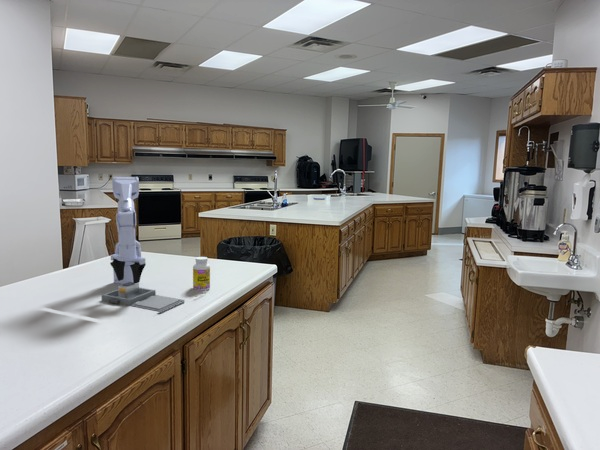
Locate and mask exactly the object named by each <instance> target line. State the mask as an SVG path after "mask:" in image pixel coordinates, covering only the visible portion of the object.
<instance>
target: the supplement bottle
mask: <svg viewBox="0 0 600 450" xmlns="http://www.w3.org/2000/svg"><path fill="white" fill-rule="evenodd" d="M208 261H209V259H208V257H207V256H197V257H195V263H194V264H193V267H192V289H193V290H198V291H209V290H210V289H211V265H210V263H208Z"/></svg>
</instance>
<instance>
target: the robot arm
mask: <svg viewBox="0 0 600 450" xmlns="http://www.w3.org/2000/svg"><path fill="white" fill-rule="evenodd" d="M111 180H112V181H111V182H112V183H111V185H112V193H113V194H112V195H113V196H114V198H115V199H117V200H118V202H117V213H116V214H115V219H116V221H115V223H116V228H117V233H118V235H117V237H118V238H117V239H118V240H117V241H118V242H116V244H115V247H114V248H115V249H114V254H110V261H111V262H110V266H111V267H112V269H113V270H112V271H113V283H114V284H115V283H117V284H119V285H122V284H125V283H128V282H134V283H139V284H140V281H141V277H142V276H141V275H142V273H143V271H144V269H145V267H146V258H145V257H142V247H141V243H140V242H139V241H138V240H137V239H136V227H137V213H136V210H135V201H134V200H135V199H137V198H139V192H140V184H139V183H140V181H139V177H138V176H125V177H124V176H113V177H112V178H111ZM134 225H135V226H134Z"/></svg>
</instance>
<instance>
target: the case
mask: <svg viewBox="0 0 600 450" xmlns="http://www.w3.org/2000/svg"><path fill="white" fill-rule="evenodd" d="M101 301H103V302H108V303H111V304H116V305H118V304H119V305H124V306H128V307H132V308H134V307H135V308H140V309H143V310H150V311H155V312H157V313H156V314H157V315H161V314H164V313H166V312H168V311H170V310H172V309H175V308H177V307H179V306H181V305H184V304H185V299H180V298H175V297H168V296H164V295H158V294H157V293H156V289H152V288H151V289H149V288H145V287H139V295H138V296H136V297H133V298H130V299H127V298H122V297H119V292H118V289H115V290H112V291H109V292H106V293H104V294H101Z"/></svg>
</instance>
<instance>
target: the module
mask: <svg viewBox="0 0 600 450" xmlns="http://www.w3.org/2000/svg"><path fill="white" fill-rule="evenodd" d="M117 287H118V292H119V297H122V298H127V299H130V298H133V297H136V296H138V295H139V288H140V282H139V283H134V282H128V283H125V284H119V285H118V286H117Z"/></svg>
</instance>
